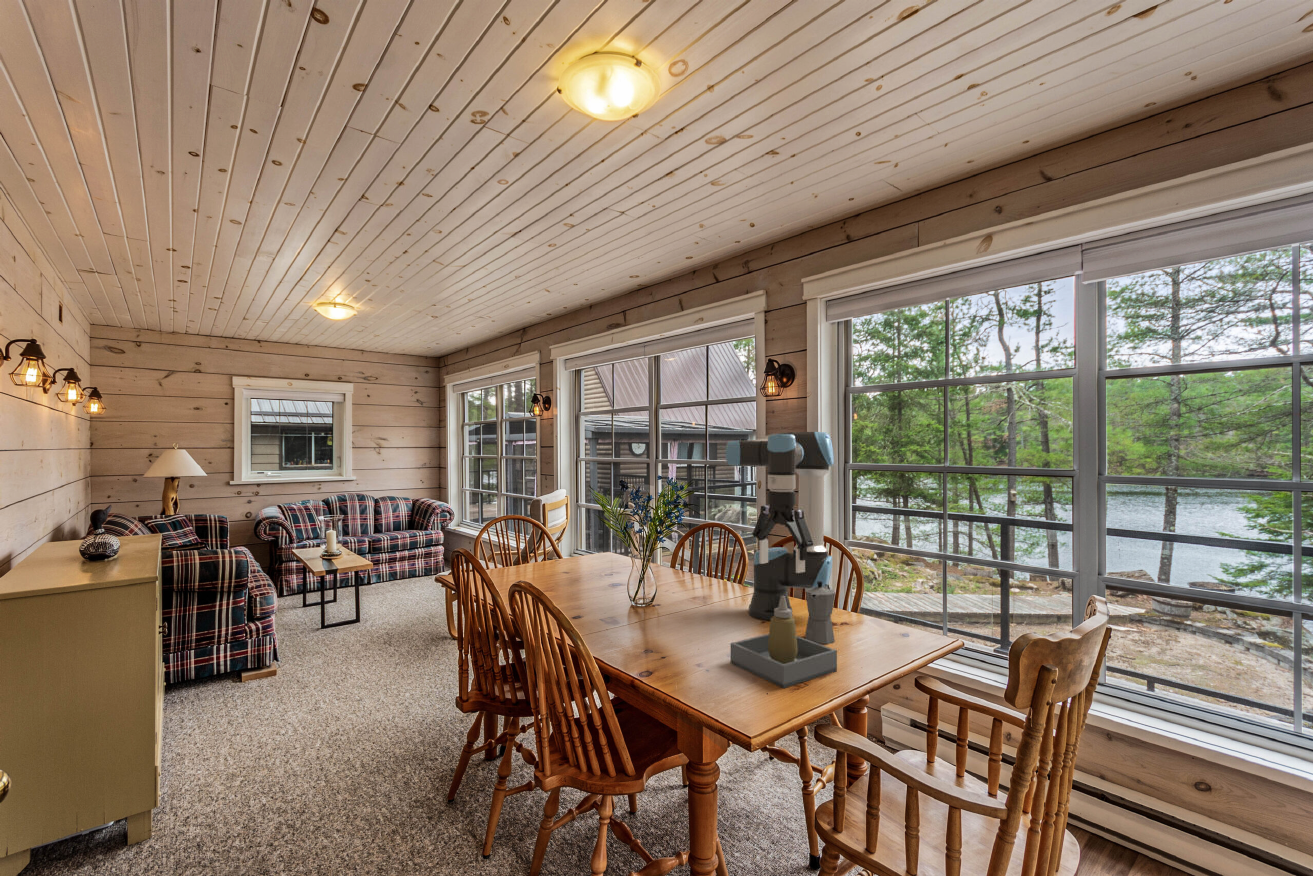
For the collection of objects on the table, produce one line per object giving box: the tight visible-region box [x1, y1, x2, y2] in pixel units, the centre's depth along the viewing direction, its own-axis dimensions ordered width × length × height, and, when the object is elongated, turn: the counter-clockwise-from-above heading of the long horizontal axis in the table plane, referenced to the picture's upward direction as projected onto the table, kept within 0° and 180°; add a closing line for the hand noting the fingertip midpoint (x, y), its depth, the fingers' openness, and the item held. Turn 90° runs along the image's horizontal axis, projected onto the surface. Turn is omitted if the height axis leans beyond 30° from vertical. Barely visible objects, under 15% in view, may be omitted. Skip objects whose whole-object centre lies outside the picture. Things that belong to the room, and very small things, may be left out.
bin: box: [730, 633, 838, 689], centre depth 161 cm, size 20×20×6 cm
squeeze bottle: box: [768, 596, 798, 664], centre depth 161 cm, size 8×8×18 cm
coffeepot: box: [804, 581, 836, 645], centre depth 184 cm, size 15×9×18 cm, turn 147°
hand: (781, 567), depth 162 cm, fingers open, 13 cm apart
